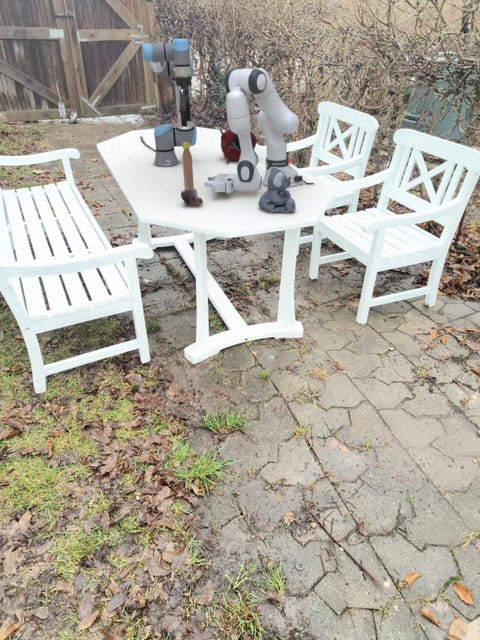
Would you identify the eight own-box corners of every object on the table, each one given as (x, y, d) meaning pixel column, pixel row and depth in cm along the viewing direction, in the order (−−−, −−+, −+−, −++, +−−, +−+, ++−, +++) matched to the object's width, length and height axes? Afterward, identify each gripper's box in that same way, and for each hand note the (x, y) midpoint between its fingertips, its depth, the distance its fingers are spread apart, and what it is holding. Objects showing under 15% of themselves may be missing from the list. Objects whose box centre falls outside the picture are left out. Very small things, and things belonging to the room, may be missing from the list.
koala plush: (296, 213, 220) (299, 173, 208) (260, 215, 219) (260, 174, 207) (290, 201, 234) (292, 163, 223) (256, 202, 233) (256, 164, 222)
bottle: (193, 190, 249) (190, 142, 235) (194, 193, 245) (191, 144, 231) (184, 191, 249) (181, 142, 234) (185, 194, 245) (181, 145, 230)
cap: (189, 146, 235) (189, 141, 234) (190, 148, 232) (189, 143, 231) (182, 147, 235) (182, 142, 234) (182, 148, 232) (182, 143, 231)
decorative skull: (217, 132, 306) (217, 129, 282) (251, 124, 305) (253, 121, 281) (224, 164, 313) (224, 164, 289) (257, 157, 312) (260, 156, 288)
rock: (196, 202, 238) (178, 205, 233) (194, 185, 234) (176, 188, 230) (205, 205, 228) (187, 208, 224) (203, 188, 224) (185, 191, 220)
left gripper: (179, 73, 226) (183, 119, 238) (170, 79, 206) (174, 128, 218) (194, 73, 226) (197, 119, 238) (187, 79, 206) (190, 128, 217)
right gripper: (234, 170, 247) (209, 170, 249) (228, 182, 231) (202, 181, 232) (234, 182, 251) (210, 181, 253) (228, 194, 234) (202, 193, 236)
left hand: (186, 123), depth 228 cm, fingers open, 13 cm apart
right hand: (206, 181), depth 242 cm, fingers open, 8 cm apart
